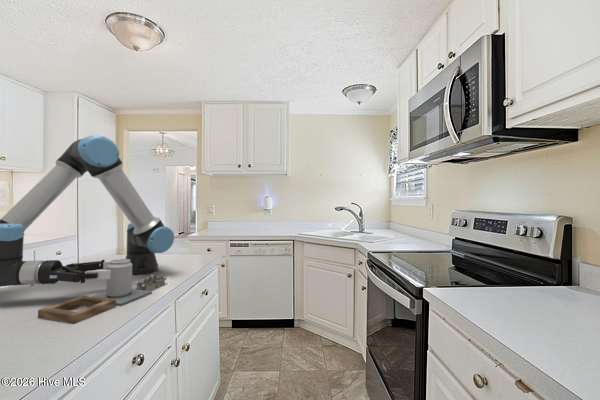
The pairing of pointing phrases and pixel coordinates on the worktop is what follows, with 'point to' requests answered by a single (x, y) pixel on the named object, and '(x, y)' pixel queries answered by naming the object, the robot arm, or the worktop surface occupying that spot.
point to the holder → (62, 313)
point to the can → (119, 278)
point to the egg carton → (150, 282)
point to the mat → (126, 299)
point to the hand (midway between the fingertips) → (117, 269)
